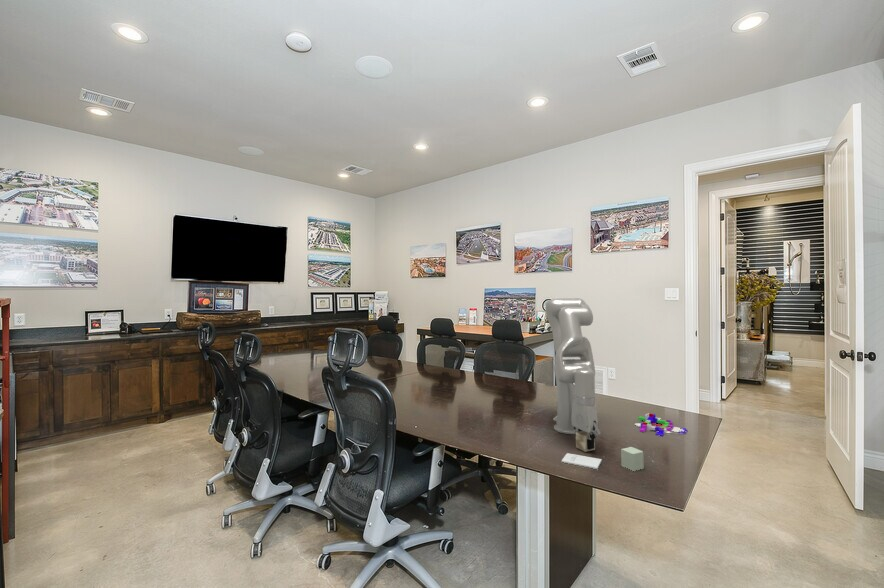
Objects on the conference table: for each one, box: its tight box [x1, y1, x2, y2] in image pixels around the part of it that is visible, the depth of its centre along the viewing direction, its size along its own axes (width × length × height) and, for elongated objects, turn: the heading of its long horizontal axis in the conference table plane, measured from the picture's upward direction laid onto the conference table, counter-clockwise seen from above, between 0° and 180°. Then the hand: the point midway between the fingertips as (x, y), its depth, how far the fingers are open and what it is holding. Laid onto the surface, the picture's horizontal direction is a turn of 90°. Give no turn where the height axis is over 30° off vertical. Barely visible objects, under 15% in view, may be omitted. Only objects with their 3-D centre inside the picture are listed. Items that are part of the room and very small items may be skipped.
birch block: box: [575, 431, 596, 453], centre depth 156 cm, size 5×5×6 cm
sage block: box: [620, 446, 645, 472], centre depth 139 cm, size 5×5×6 cm
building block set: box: [634, 412, 688, 437], centre depth 180 cm, size 25×20×4 cm
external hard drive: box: [561, 452, 603, 471], centre depth 144 cm, size 2×8×12 cm
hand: (585, 445), depth 156 cm, fingers closed on birch block, 4 cm apart
